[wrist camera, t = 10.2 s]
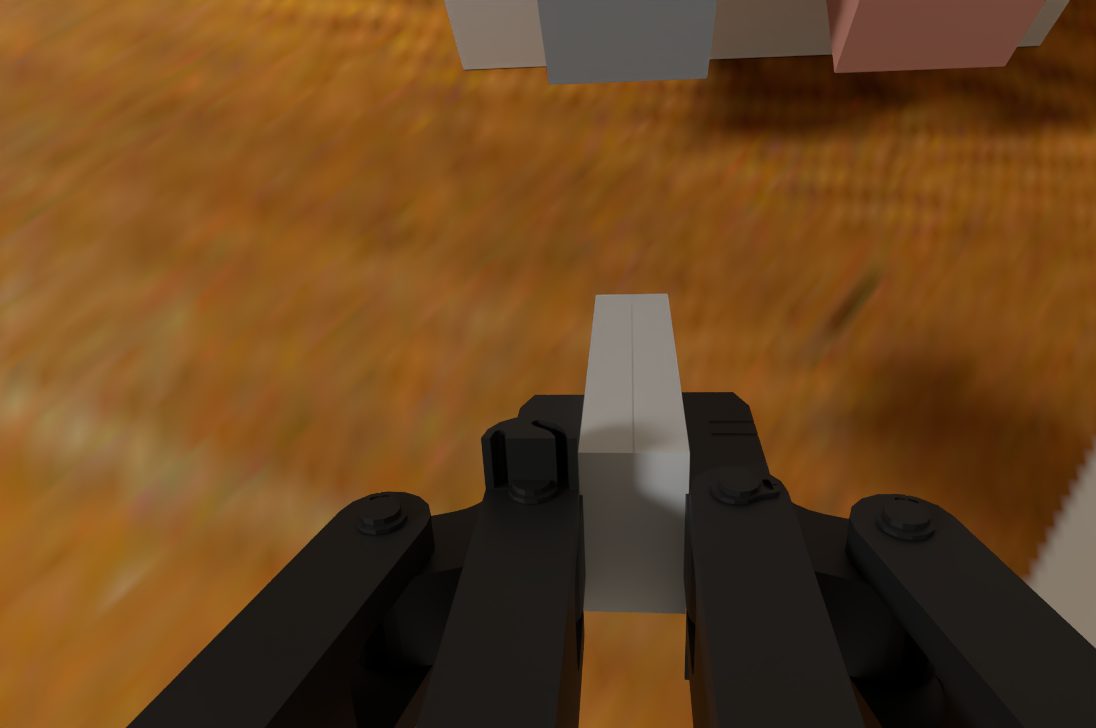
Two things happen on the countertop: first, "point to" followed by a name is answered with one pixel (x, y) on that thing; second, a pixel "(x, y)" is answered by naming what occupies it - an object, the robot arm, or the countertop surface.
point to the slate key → (626, 39)
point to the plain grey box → (739, 32)
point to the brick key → (926, 33)
